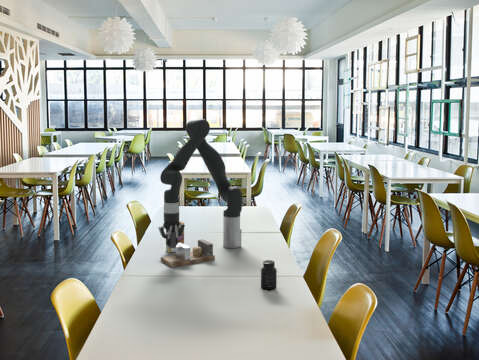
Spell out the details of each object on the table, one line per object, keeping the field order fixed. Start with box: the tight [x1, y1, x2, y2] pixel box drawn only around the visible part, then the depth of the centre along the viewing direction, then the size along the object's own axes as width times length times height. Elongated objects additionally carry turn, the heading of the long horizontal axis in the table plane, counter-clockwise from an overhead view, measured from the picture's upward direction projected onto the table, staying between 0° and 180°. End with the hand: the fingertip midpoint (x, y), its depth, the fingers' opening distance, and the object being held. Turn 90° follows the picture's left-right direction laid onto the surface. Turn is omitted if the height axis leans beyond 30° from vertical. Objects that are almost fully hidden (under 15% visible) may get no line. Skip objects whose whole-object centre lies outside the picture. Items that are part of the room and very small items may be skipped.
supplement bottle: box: [260, 259, 278, 292], centre depth 222 cm, size 7×7×12 cm
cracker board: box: [160, 239, 216, 268], centre depth 259 cm, size 24×12×8 cm, turn 124°
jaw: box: [169, 231, 191, 260], centre depth 254 cm, size 9×10×14 cm
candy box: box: [165, 221, 185, 253], centre depth 274 cm, size 9×4×15 cm, turn 123°
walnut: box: [192, 246, 201, 256], centre depth 262 cm, size 4×4×4 cm
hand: (171, 245), depth 253 cm, fingers closed on jaw, 3 cm apart
